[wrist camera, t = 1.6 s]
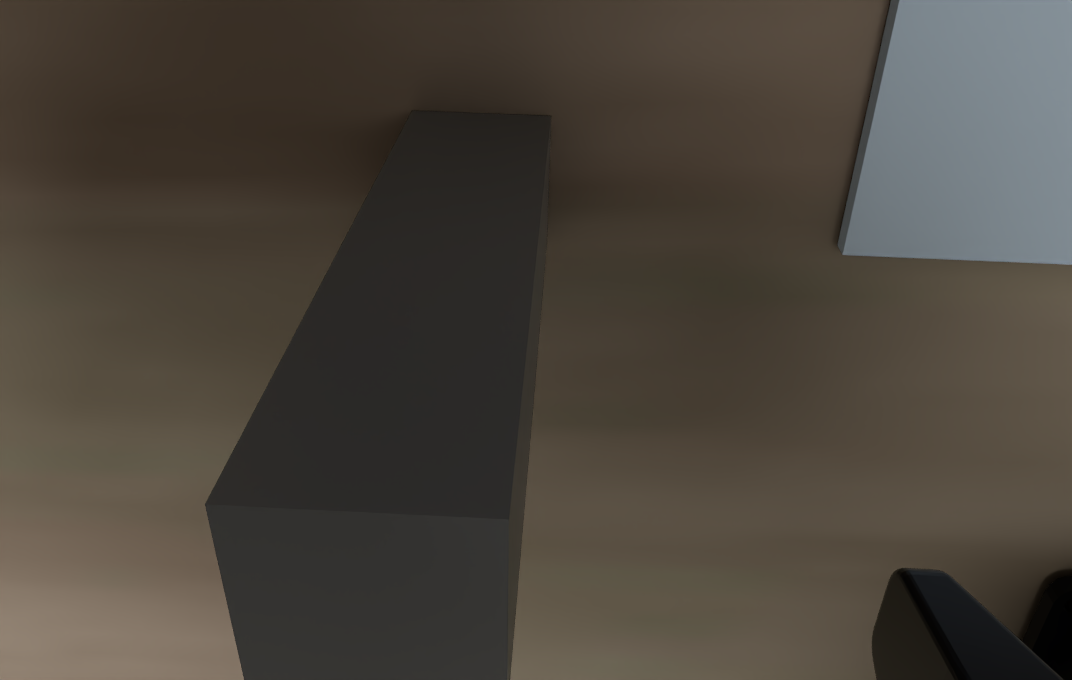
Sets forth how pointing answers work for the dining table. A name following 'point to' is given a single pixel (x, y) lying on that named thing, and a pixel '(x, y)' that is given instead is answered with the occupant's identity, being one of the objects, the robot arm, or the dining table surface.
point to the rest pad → (967, 135)
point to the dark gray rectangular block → (400, 426)
